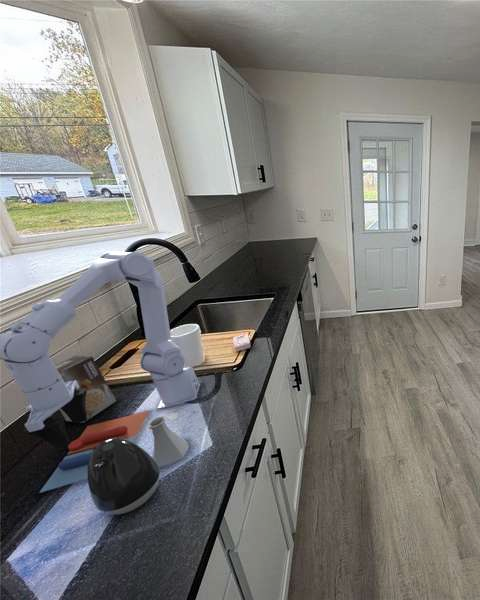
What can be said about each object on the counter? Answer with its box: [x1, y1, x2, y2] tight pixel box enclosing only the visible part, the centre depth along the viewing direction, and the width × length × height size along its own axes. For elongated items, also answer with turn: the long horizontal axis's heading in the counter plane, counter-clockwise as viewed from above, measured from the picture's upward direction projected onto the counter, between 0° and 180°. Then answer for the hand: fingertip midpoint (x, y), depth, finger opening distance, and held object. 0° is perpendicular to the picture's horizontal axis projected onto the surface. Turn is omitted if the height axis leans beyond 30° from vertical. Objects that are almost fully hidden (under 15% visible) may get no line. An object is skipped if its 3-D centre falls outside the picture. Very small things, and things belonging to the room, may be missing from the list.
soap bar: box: [232, 333, 252, 352], centre depth 120 cm, size 5×9×2 cm, turn 29°
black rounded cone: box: [87, 437, 161, 515], centre depth 61 cm, size 10×10×15 cm
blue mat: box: [38, 436, 137, 494], centre depth 72 cm, size 14×10×1 cm
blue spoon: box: [57, 452, 92, 470], centre depth 72 cm, size 12×4×2 cm, turn 112°
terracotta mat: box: [66, 410, 150, 456], centre depth 82 cm, size 14×10×1 cm
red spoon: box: [67, 425, 127, 451], centre depth 78 cm, size 12×4×2 cm, turn 112°
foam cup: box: [170, 323, 206, 368], centre depth 108 cm, size 10×9×13 cm
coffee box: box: [54, 355, 117, 424], centre depth 86 cm, size 9×6×16 cm
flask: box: [147, 416, 190, 468], centre depth 72 cm, size 7×7×10 cm
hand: (72, 432), depth 70 cm, fingers open, 7 cm apart
